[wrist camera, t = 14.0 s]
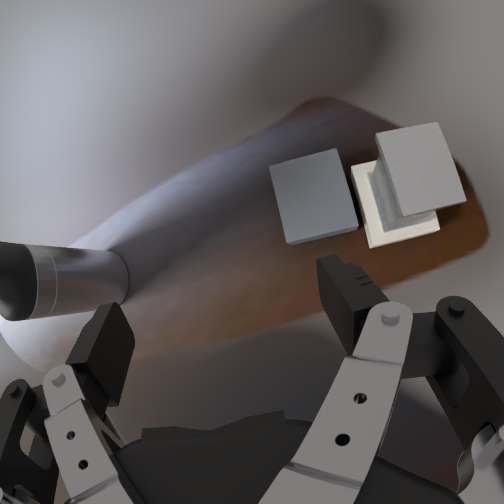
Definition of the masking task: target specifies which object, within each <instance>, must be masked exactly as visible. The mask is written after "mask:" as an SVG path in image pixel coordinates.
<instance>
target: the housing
mask: <svg viewBox="0 0 504 504" xmlns="http://www.w3.org/2000/svg"><path fill="white" fill-rule="evenodd" d="M375 141H376V143H377V146H378V149H379V154H378V158H377V161H376V164H375V168H374V171H372V172H368V173H367V174H366V177H367V180H368V183H369V186H370V189H371V193H372V196H373V200H374V203H375V207H376V210H377V214H378V218H379V221H380V225H381V229H382V233H386V232H390V231H394V230H398V229H402V228H406V227H410V226H414V225H418V224H422V223H426V222H429V221H431V219H430V215H431V214H432V213H434V212H435V211H437V210H439V209H442V208H446V207H450V206H454V205H458V204H462V203H464V202H465V201H466V197H465V194H464V191H463V188H462V185H461V181H460V178H459V175H458V173H457V170H456V167H455V164H454V161H453V159H452V156H451V153H450V151H449V148H448V146H447V143H446V141H445V138H444V136H443V133H442V131H441V129H440V126H439V124H438V122H434V123H428V124H422V125H417V126H411V127H406V128H400V129H395V130H390V131H385V132H381V133H376V135H375Z"/></svg>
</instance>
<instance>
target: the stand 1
mask: <svg viewBox="0 0 504 504" xmlns="http://www.w3.org/2000/svg"><path fill="white" fill-rule="evenodd" d="M269 170H270V174H271V178H272V182H273V186H274V191H275V195H276V199H277V203H278V207H279V212H280V216H281V220H282V225H283V229H284V233H285V238H286V242H287V243H288V244H290V245H296V244H300V243H305V242H309V241H313V240H317V239H321V238H325V237H329V236H334V235H338V234H342V233H346V232H350V231H354V230H357V228H358V226H359V224H358V220H357V217H356V213H355V209H354V205H353V202H352V198H351V195H350V191H349V188H348V184H347V181H346V177H345V174H344V171H343V168H342V164H341V161H340V158H339V155H338V152H337V149H336V148H335V149H331V150H327V151H323V152H319V153H315V154H311V155H307V156H304V157H300V158H296V159H292V160H289V161H285V162H282V163H278V164H275V165H271V166H269Z"/></svg>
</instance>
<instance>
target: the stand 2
mask: <svg viewBox="0 0 504 504" xmlns="http://www.w3.org/2000/svg"><path fill="white" fill-rule="evenodd" d="M376 161H377V160H376ZM376 161H372V162H367V163H363V164H359V165H354V166H351V176H350V177H351V180H352V183H353V187H354V190H355V194H356V197H357V201H358V204H359V208H360V212H361V215H362V219H363V223H364V227H365V231H366V235H367V239H368V243H369V248H374V247H378V246H382V245H386V244H390V243H394V242H398V241H402V240H406V239H410V238H414V237H418V236H422V235H426V234H430V233H433V232H435V231H438V230H440V227H439V223H438V220H437V216H436V212H434V213H432V214H431V215H430V219H431V221H429V222H426V223H422V224H418V225H414V226H410V227H406V228H402V229H398V230H394V231H390V232H386V233H382V229H381V225H380V221H379V218H378V214H377V210H376V207H375V203H374V200H373V196H372V193H371V189H370V186H369V183H368V180H367V177H366V174H367V173H368V172H372V171H374V168H375V164H376Z"/></svg>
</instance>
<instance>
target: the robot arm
mask: <svg viewBox="0 0 504 504" xmlns="http://www.w3.org/2000/svg"><path fill="white" fill-rule="evenodd" d="M316 264H317V274H318V284H319V294H320V299H321V303H322V306H323V308H324V310H325V312H326V314H327V316H328V318H329V320H330V322H331V324H332V326H333V328H334V329H335V331H336V333H337V335H338V337H339V339H340V341H341V343H342V345H343V347H344V349H345V351H346V353H347V356H346V357H345V359H344V361H343V363H342V365H341V367H340V370H339V372H338V374H337V376H336V378H335V380H334V383H333V384H332V387H331V389H330V391H329V393H328V395H327V397H326V399H325V401H324V403H323V405H322V407H321V409H320V411H319V413H318V415H317V416H316V418H315V420H314V422H313V423H312V422H308V421H303V420H285V416H284V412H283V410H280V411H275V412H271V413H266V414H261V415H255V416H250V417H245V418H243V419H240V420H238V421H235V422H233V423H230V424H227V425H224V426H222V427H219V428H216V429H213V430H197V429H188V428H181V427H161V428H143V430H142V437H141V439H139V440H136V441H134V442H131V443H129V444H127V445H126V443H125V442H124V440H123V438H122V437H121V435H120V434H119V432H118V430H117V429H116V427H115V425H114V423H113V422H112V420H111V418H110V417H109V415H108V414H107V413H106V412H105V411H106V407H115V406H116V407H117V406H119V402H120V398H121V394H122V390H123V387H124V383H125V379H126V375H127V372H128V367H129V364H130V361H131V357H132V354H133V350H134V347H135V338H134V334H133V331H132V329H131V327H130V325H129V323H128V321H127V319H126V317H125V315H124V313H123V311H122V309H121V307H120V304H121V303H122V302H123V300H124V299H125V297H126V294H127V291H128V285H129V277H128V271H127V268H126V265H125V263H124V261H123V260H122V258H121V257H120V256H119V255H118V254H116V253H115V252H111V251H103V250H91V249H78V248H66V247H52V246H41V245H26V244H15V243H7V242H0V314H1V316H2V317H3V318H5V319H6V320H9V321H20V320H29V319H37V318H44V317H51V316H59V315H67V314H74V313H81V312H88V311H96V312H95V314H94V316H93V318H92V319H91V320H90V321H89V322H88V323H87V324H86V325H85V326H84V327H83V329H82V331H81V333H80V337H78V339H77V341H76V344H75V345H74V347H73V349H72V351H71V353H70V355H69V357H68V359H67V361H66V363H65V365H59V366H57V367H55V368H53V369H52V370H50V371H49V372H48V373H47V375H46V376H45V378H44V380H43V385H40V386H37V387H34V388H31V387H30V386H29V384H28V383H27V382H26V381H25V380H24V379H17V380H15V381H13V382H12V383H10V384H9V385H8V386H7V387H6V389H5V391H4V392H3V395H2V397H1V399H0V504H54V497H55V492H56V486H57V480H58V475H59V470H60V472H61V475H62V478H63V480H64V482H65V485H66V487H67V490H68V492H69V494H70V498H69V499H68V500H67V501H66V502H65V503H64V504H504V337H503V336H502V335H501V334H500V332H499V331H498V330H497V329H496V328H495V327H494V326H493V325H492V323H490V321H489V320H488V319H487V318H486V317H485V316H484V315H483V314H482V313H481V312H480V311H479V310H478V308H477V307H476V306H475V305H474V304H473V303H472V302H471V301H469V300H468V299H466V298H463V297H459V296H449V297H445V298H443V299H441V300H440V301H439V302H438V304H437V307H436V312H428V313H412V312H411V310H410V309H409V308H408V307H407V306H405V305H403V304H401V303H398V302H390V301H389V300H388V299H387V297H386V296H385V295H384V294H383V292H382V291H381V290H380V289H379V288H378V286H377V285H376V284H375V283H373V281H372V279H371V278H370V277H368V275H367V274H366V272H365V271H364V270H363V269H362V268H360V267H358V266H356V265H354V264H352V263H350V264H346V265H345V264H344V263H343V262H342V261H341V260H340V258H339V257H338V256H337V255H336V254H333V255H329V256H325V257H321V258H317V260H316ZM423 376H425V377H426V379H427V381H428V382H429V384H430V386H431V388H432V390H433V392H434V393H435V395H436V397H437V399H438V401H439V402H440V404H441V406H442V408H443V410H444V412H445V414H446V415H447V417H448V419H449V421H450V423H451V425H452V427H453V429H454V431H455V433H456V435H457V437H458V439H459V441H460V443H461V445H462V447H463V449H464V452H463V453H462V455H461V456H460V458H459V461H458V465H457V471H458V476H459V487H458V490H457V493H455V492H454V491H452V490H451V489H449V488H447V487H445V486H443V485H440V484H438V483H435V482H433V481H431V480H428V479H426V478H424V477H421V476H419V475H417V474H415V473H413V472H410V471H408V470H406V469H404V468H402V467H400V466H398V465H396V464H394V463H392V462H390V461H388V460H386V459H384V458H382V457H380V456H378V452H379V450H380V447H381V444H382V441H383V438H384V435H385V433H386V429H387V426H388V423H389V420H390V417H391V413H392V410H393V407H394V404H395V400H396V396H397V393H398V389H399V386H400V382H401V379H405V378H415V377H423ZM25 425H26V426H27V427H28V428H29V429H30V430H31V431H32V432H33V433H34V434H35V436H34V439H33V442H32V446H31V449H30V452H29V456H27V455H25V454H24V453H23V451H22V450H21V448H20V438H21V435H22V432H23V429H24V426H25Z"/></svg>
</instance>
